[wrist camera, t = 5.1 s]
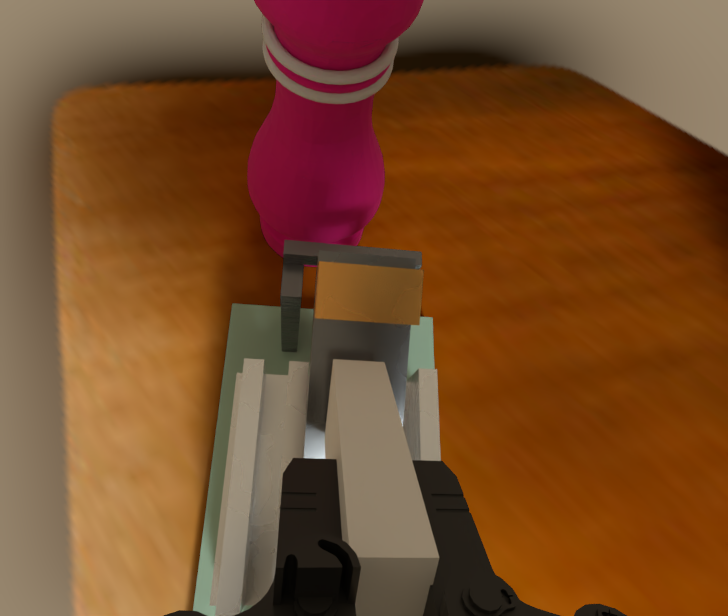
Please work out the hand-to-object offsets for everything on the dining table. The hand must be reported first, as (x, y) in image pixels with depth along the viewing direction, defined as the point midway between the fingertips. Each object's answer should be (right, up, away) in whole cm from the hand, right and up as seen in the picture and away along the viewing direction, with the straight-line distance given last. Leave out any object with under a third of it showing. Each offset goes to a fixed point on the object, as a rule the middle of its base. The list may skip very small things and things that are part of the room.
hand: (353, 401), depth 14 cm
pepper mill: (-3, +8, +16) cm, 18 cm away
